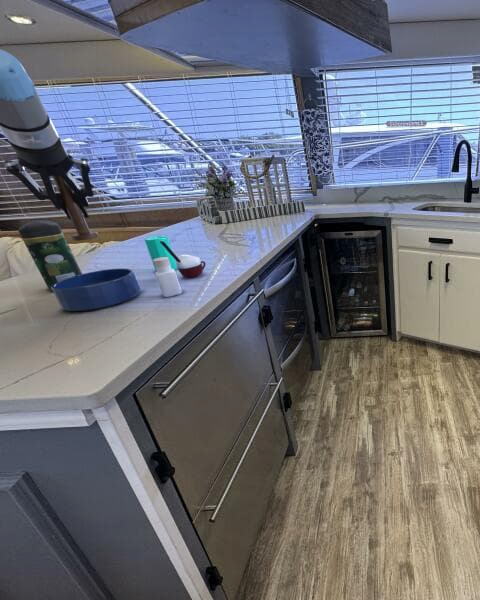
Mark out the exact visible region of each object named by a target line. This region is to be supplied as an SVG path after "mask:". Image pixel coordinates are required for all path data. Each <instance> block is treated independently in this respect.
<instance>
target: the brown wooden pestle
mask: <svg viewBox="0 0 480 600" xmlns="http://www.w3.org/2000/svg"><path fill="white" fill-rule="evenodd" d="M51 177H52V179H53V181H54V184H55V186H56V188H57V191H58V193H60V195H61V197H62V199H63V202H64V204H65V206H66V209H67V211H68V213H69V215H70V218H71V219H70V220H71V222H72V224H73V227H74V229H75V231H76V233H74V234H71V236H70V237H71V239H72V241H75V242H76V241H77V242H78V241H86V240H87V241H88V240H94V239H98V238H99V237H100V235H99V233H98V231H90V228H89V226H88V224H87V222H86V218H85V216H84V215H83V213H82V211H81V209H80V207H79V206H78V204H77V202H76V200H75V197H74V193H73V191H72V189H71V188H70V187H69V186H68V184H67V183H66V182H65V180H63V179H62V178H61V176H56V175H54V176H51Z"/></svg>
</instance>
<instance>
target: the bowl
mask: <svg viewBox="0 0 480 600" xmlns="http://www.w3.org/2000/svg"><path fill="white" fill-rule="evenodd" d="M51 288H52V290H53V291H52V290H51V291H52V292H53V294H54V297H55V298H56V300H57V303H58V304H59V307H60V308H61V309H62V310H64V311H68V312H78V311H81V312H82V311H94V310H97V309H98V310H99V309H103V308H108V307H111V306H114V305H118V304H120V303H124V302H125V301H128V300H130V299H132V298H133V297H136V296H137V295H139V294H140V293H141V287H140V285H139V282H138V279H137V277H136V274H135V271H134V269H131V268H123V267H121V268H109V269H101V270H94V271H90V272H85V273H82V274H80V275H76V276H73V277H69V278H66V279H63V280H61V281H58V282H56V283H54V284H53V285H52V286H51Z"/></svg>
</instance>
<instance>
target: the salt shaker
mask: <svg viewBox="0 0 480 600" xmlns="http://www.w3.org/2000/svg"><path fill="white" fill-rule="evenodd" d="M153 263H154V265H155V268H156V270H157V272H156V270H155V272H154V274H155V277H156V281H157V282H158V286H159V288H160V291H161V294H162V296H163V297H164V298H169V297H173V296H178V295H181V294H182V293H183V290H182V287H181V285H180V282H179V278H178V275H177V273H176V270H174V269H171V266H170V262H169V259H168V258H167V257H162V258H156V259H154V260H153V262H152V264H153ZM154 265H153V266H154ZM155 268H154V269H155Z"/></svg>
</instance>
